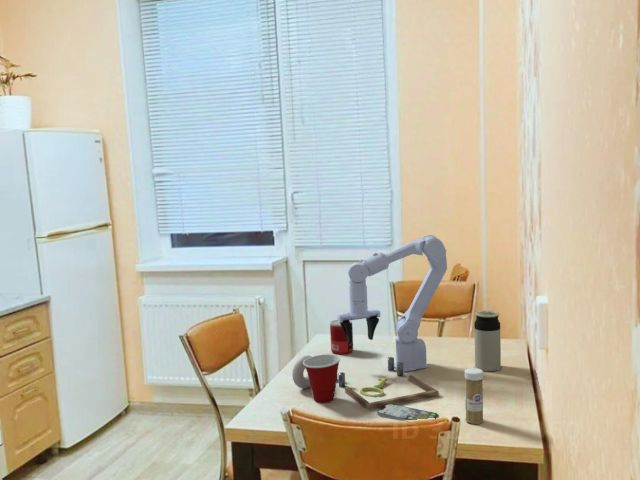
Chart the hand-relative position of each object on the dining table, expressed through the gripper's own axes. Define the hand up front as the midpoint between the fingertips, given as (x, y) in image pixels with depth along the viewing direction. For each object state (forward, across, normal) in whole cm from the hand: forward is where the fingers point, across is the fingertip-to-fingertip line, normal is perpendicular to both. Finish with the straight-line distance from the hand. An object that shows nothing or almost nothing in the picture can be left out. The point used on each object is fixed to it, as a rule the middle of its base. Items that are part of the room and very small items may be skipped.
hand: (359, 340), depth 199 cm
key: (+10, +4, +19) cm, 22 cm away
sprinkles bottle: (+10, -8, +51) cm, 53 cm away
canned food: (+10, -2, -20) cm, 22 cm away
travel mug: (+10, -36, +19) cm, 42 cm away
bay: (+9, +2, +24) cm, 26 cm away
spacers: (+9, +2, +9) cm, 13 cm away
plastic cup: (+10, +21, +19) cm, 30 cm away
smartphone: (+10, +5, +40) cm, 41 cm away
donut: (+10, +22, +8) cm, 25 cm away
